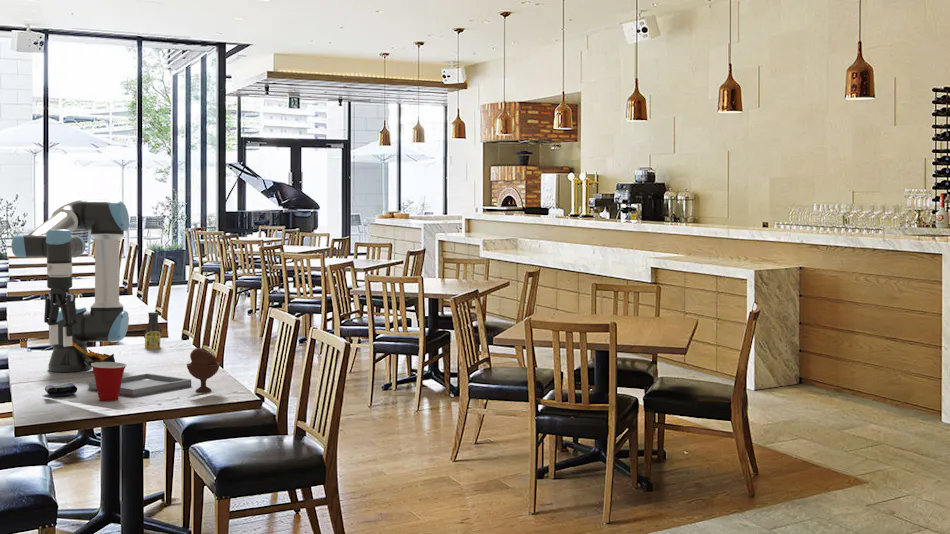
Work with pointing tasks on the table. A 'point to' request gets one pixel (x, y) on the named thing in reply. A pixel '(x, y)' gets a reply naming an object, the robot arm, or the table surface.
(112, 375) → the plastic cup
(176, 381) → the tray
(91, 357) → the fried shrimp in bowl
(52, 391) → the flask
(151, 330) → the sauce bottle
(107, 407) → the table surface
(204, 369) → the ice cream bowl
